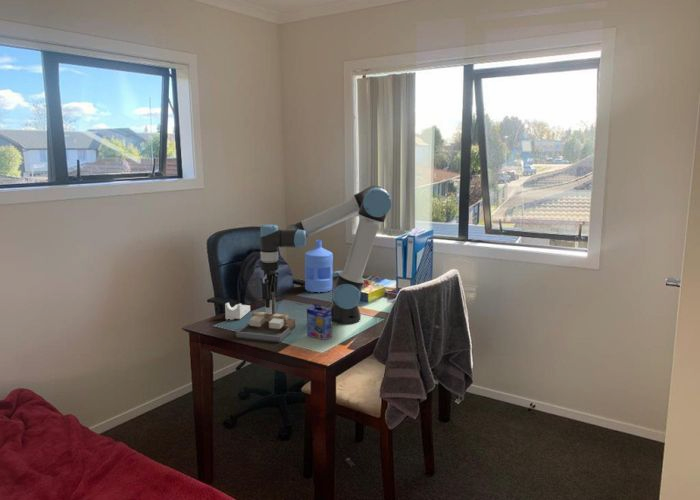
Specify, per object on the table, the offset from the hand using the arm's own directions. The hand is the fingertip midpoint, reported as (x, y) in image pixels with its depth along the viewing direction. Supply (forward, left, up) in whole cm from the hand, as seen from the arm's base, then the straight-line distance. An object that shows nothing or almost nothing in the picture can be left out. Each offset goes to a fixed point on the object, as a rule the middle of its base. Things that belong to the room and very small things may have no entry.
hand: (270, 312), depth 235 cm
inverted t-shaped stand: (0, 0, -4) cm, 4 cm away
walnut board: (0, -2, -8) cm, 8 cm away
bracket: (+23, -13, -8) cm, 27 cm away
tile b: (+5, +4, -4) cm, 7 cm away
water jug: (+1, -68, -8) cm, 69 cm away
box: (0, +8, -8) cm, 11 cm away
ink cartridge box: (-23, +2, -8) cm, 25 cm away
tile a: (-5, +4, -4) cm, 8 cm away
